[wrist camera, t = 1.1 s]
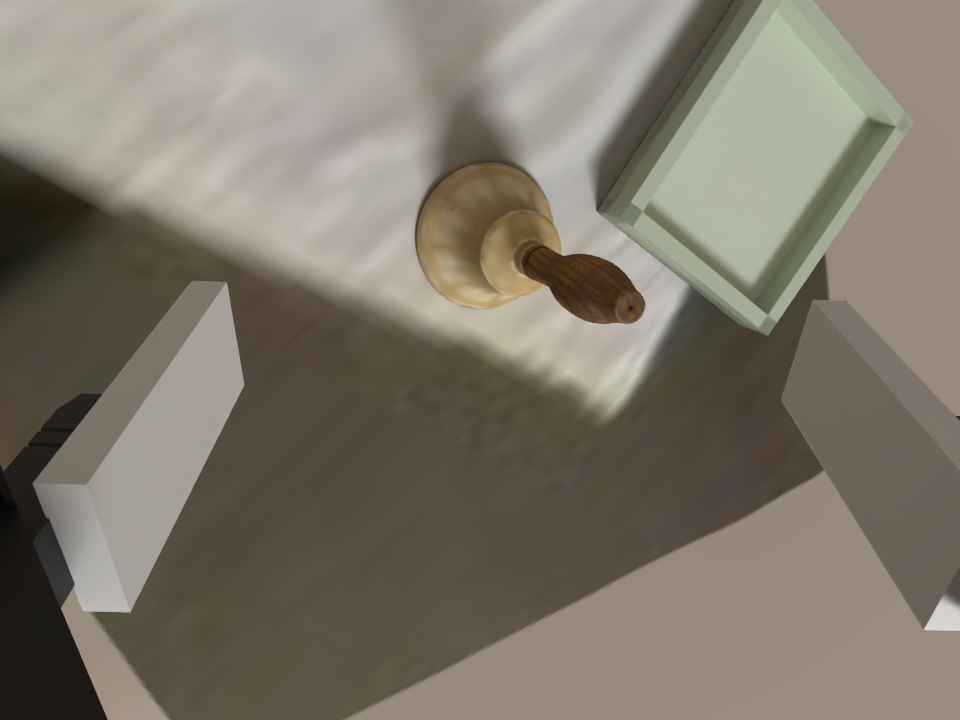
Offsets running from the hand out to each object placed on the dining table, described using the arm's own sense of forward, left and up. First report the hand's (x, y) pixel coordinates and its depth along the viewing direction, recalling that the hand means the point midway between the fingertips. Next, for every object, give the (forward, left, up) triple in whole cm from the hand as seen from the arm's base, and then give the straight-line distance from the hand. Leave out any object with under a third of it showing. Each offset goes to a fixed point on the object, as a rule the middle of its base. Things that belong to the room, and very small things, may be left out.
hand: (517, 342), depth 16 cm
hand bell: (-3, +7, -24) cm, 25 cm away
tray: (-16, +19, -24) cm, 35 cm away
